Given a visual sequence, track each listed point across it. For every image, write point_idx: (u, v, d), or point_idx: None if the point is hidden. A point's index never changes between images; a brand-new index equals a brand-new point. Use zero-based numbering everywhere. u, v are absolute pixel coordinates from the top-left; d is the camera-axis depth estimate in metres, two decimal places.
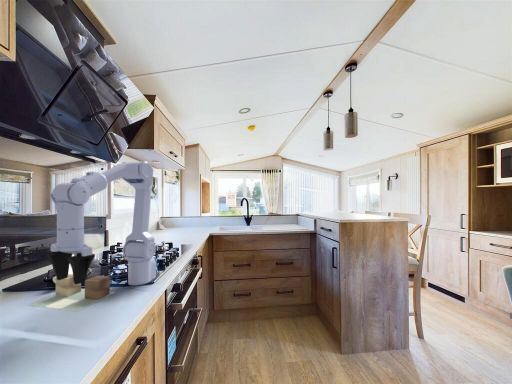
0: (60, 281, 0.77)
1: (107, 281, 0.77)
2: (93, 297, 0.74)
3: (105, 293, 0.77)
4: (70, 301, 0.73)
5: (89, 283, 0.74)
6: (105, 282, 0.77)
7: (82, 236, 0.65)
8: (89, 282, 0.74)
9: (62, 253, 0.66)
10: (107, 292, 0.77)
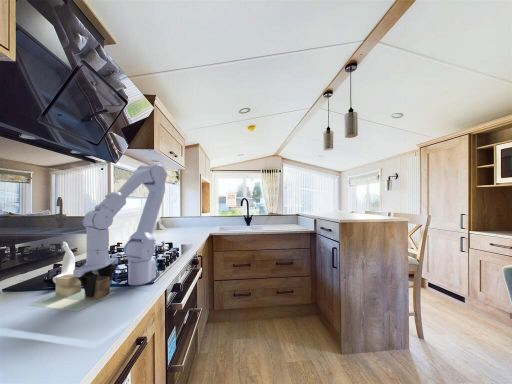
0: (60, 281, 0.77)
1: (107, 281, 0.77)
2: (93, 297, 0.74)
3: (105, 293, 0.77)
4: (70, 301, 0.73)
5: None
6: (105, 282, 0.77)
7: (95, 258, 0.74)
8: None
9: (104, 268, 0.79)
10: (107, 292, 0.77)
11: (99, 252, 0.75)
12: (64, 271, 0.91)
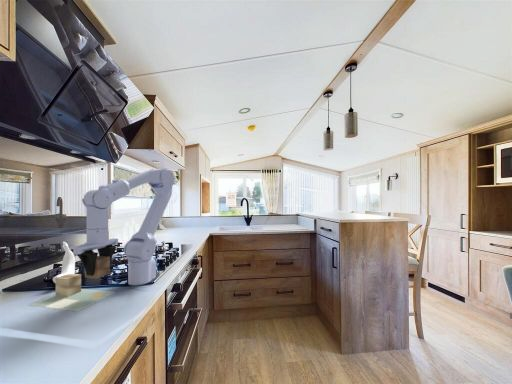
0: (60, 281, 0.77)
1: (107, 261, 0.78)
2: (93, 276, 0.74)
3: (105, 273, 0.77)
4: (70, 301, 0.73)
5: None
6: (105, 261, 0.77)
7: (95, 236, 0.74)
8: None
9: (104, 248, 0.79)
10: (107, 272, 0.78)
11: (99, 231, 0.75)
12: (64, 271, 0.91)
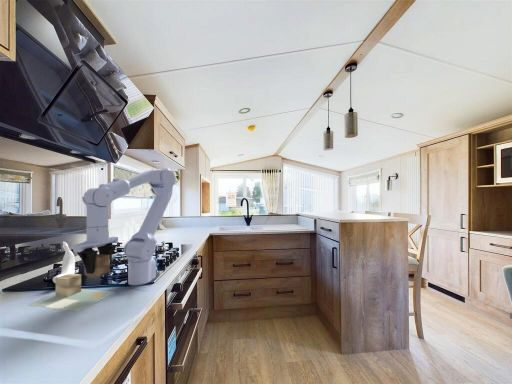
0: (60, 281, 0.77)
1: (107, 259, 0.77)
2: (93, 274, 0.74)
3: (105, 271, 0.77)
4: (70, 301, 0.73)
5: None
6: (105, 260, 0.77)
7: (95, 234, 0.74)
8: None
9: (104, 246, 0.79)
10: (107, 270, 0.77)
11: (99, 229, 0.75)
12: (64, 271, 0.91)
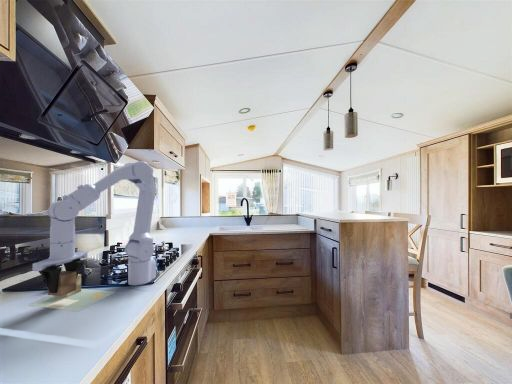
0: None
1: (73, 277, 0.72)
2: (56, 293, 0.69)
3: (71, 289, 0.72)
4: (70, 301, 0.73)
5: None
6: (71, 277, 0.72)
7: (58, 251, 0.69)
8: None
9: (70, 263, 0.74)
10: (73, 288, 0.72)
11: (63, 245, 0.69)
12: None
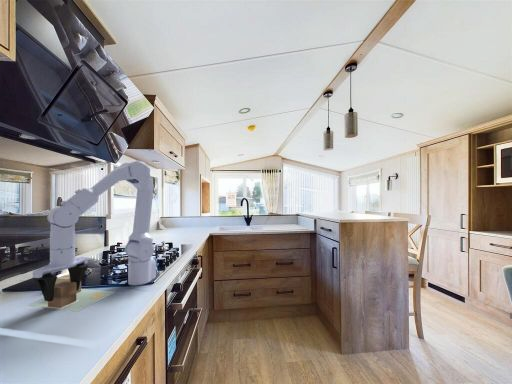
0: (60, 281, 0.77)
1: (73, 288, 0.72)
2: (56, 305, 0.69)
3: (71, 301, 0.72)
4: None
5: None
6: (71, 288, 0.72)
7: (58, 257, 0.69)
8: None
9: (74, 267, 0.75)
10: (73, 299, 0.72)
11: (63, 251, 0.69)
12: (64, 271, 0.91)
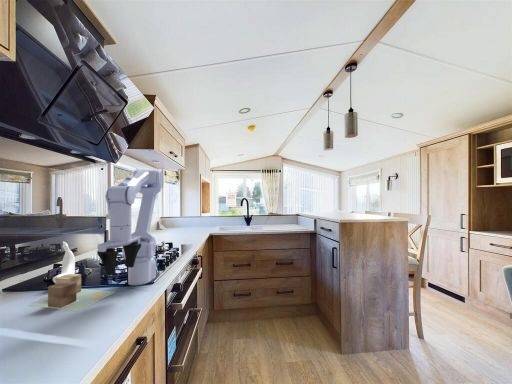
0: (60, 281, 0.77)
1: (73, 288, 0.72)
2: (56, 305, 0.69)
3: (71, 301, 0.72)
4: None
5: (52, 290, 0.69)
6: (71, 288, 0.72)
7: (118, 233, 0.72)
8: (52, 289, 0.69)
9: (129, 245, 0.78)
10: (73, 299, 0.72)
11: (123, 228, 0.73)
12: (64, 271, 0.91)
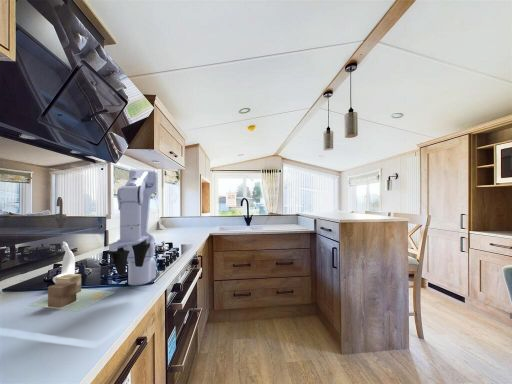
0: (60, 281, 0.77)
1: (73, 288, 0.72)
2: (56, 305, 0.69)
3: (71, 301, 0.72)
4: None
5: (52, 290, 0.69)
6: (71, 288, 0.72)
7: (129, 233, 0.73)
8: (52, 289, 0.69)
9: (138, 245, 0.79)
10: (73, 299, 0.72)
11: (133, 227, 0.73)
12: (64, 271, 0.91)
